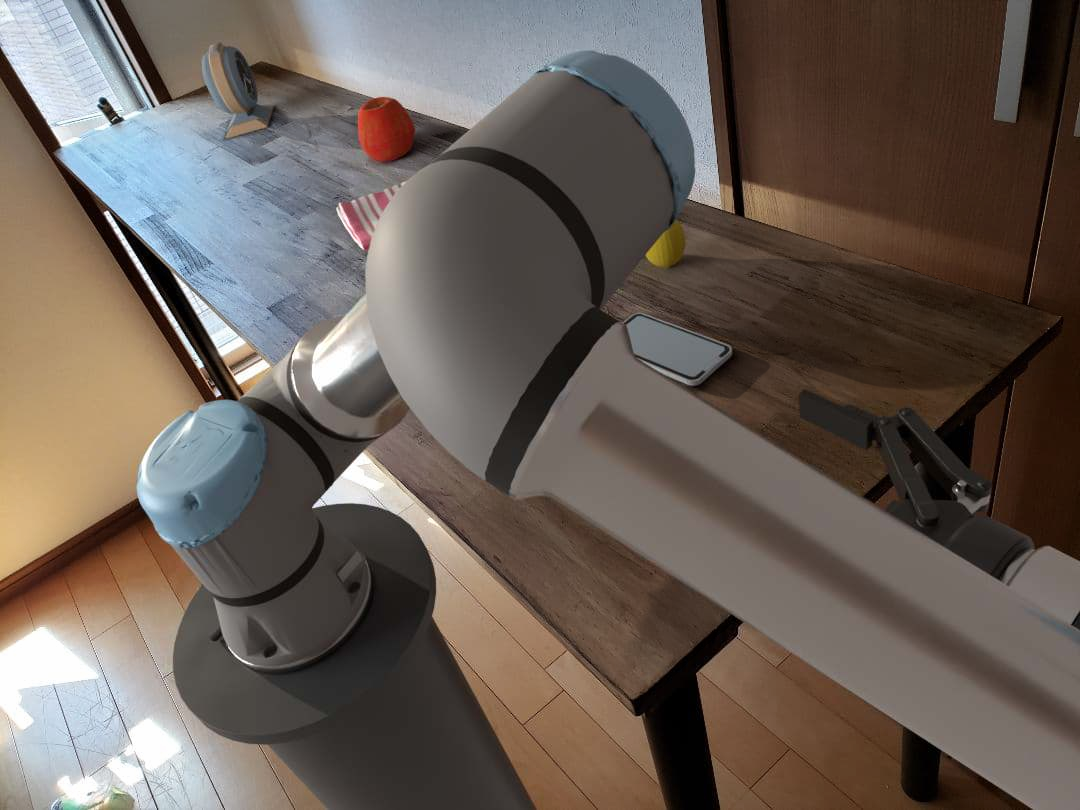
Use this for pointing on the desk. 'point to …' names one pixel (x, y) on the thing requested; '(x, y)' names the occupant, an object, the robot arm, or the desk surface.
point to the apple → (385, 129)
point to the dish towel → (365, 214)
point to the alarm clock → (234, 89)
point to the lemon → (668, 247)
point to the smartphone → (675, 349)
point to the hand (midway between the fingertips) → (748, 449)
